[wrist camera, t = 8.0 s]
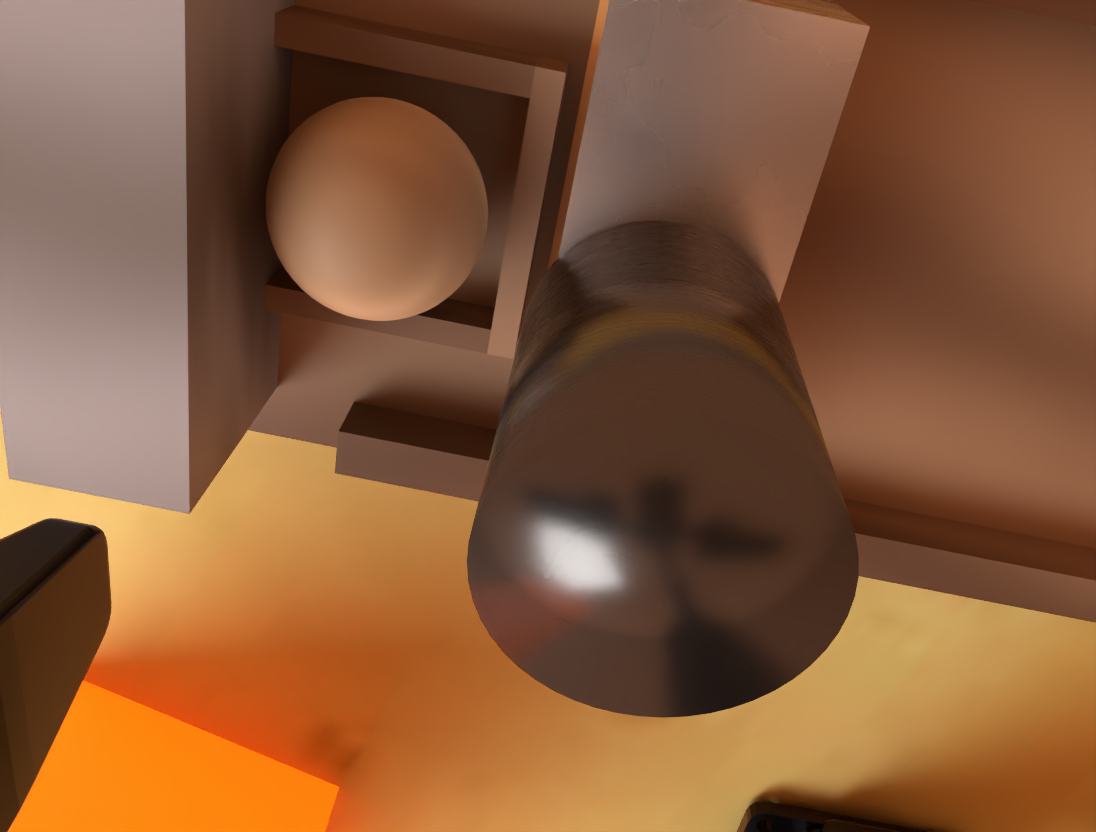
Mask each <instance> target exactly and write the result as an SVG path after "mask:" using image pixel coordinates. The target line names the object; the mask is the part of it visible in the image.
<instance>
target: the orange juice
mask: <svg viewBox="0 0 1096 832" xmlns="http://www.w3.org/2000/svg"><path fill="white" fill-rule="evenodd" d="M338 790H339V787H338V786H336V785H333V784H331V783H329V782H326V781H324V780H321V779H319V778H317V777H314V776H312V775H309V774H307V773H305V772H302V771H300V770H297V769H295V768H293V767H290V766H288V765H285V764H283V763H281V762H278V761H276V760H273V759H271V758H269V757H266V756H264V755H261V754H259V753H257V752H254V751H252V750H249V749H247V748H245V747H242V746H240V745H237V744H235V743H233V742H230V741H228V740H225V739H223V738H221V737H218V736H216V735H213V734H211V733H209V732H206V731H204V730H202V729H199V728H197V727H194V726H192V725H190V724H187V723H185V722H182V721H180V720H178V719H175V718H173V717H170V716H168V715H166V714H163V713H161V712H158V711H156V710H154V709H151V708H149V707H146V706H144V705H142V704H139V703H137V702H134V701H132V700H130V699H127V698H125V697H122V696H120V695H118V694H115V693H113V692H110V691H108V690H106V689H103V688H101V687H98V686H96V685H94V684H91V683H89V682H86V681H84V680H83V682H82V684H81V686H80V688H79V690H78V692H77V694H76V696H75V699H74V701H73V703H72V705H71V707H70V709H69V711H68V713H67V715H66V717H65V719H64V722H63V724H62V726H61V728H60V730H59V732H58V734H57V736H56V738H55V740H54V743H53V745H52V747H51V749H50V751H49V753H48V755H47V757H46V759H45V761H44V763H43V766H42V768H41V770H40V772H39V774H38V776H37V778H36V780H35V782H34V784H33V786H32V788H31V790H30V792H29V794H28V796H27V798H26V800H25V802H24V804H23V806H22V808H21V810H20V812H19V813H18V815H17V817H16V819H15V820H14V822H13V824H12V826H11V827H10V829H9V831H8V832H325V830H326V827H327V824H328V821H329V818H330V815H331V811H332V808H333V805H334V802H335V799H336V796H337V793H338Z"/></svg>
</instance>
